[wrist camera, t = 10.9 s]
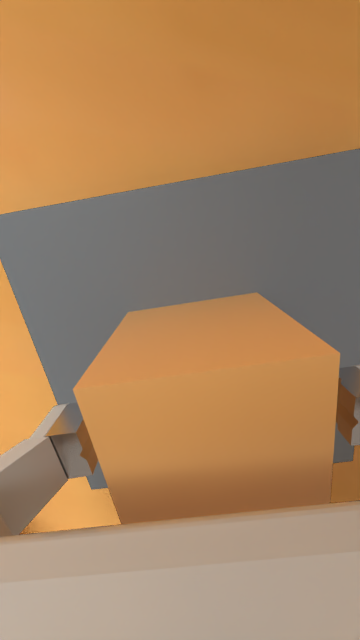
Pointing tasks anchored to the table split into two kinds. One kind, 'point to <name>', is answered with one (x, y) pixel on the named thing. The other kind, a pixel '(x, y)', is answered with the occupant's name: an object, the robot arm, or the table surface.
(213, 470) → the orange tan cube
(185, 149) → the table surface
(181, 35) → the table surface
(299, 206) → the slate board
